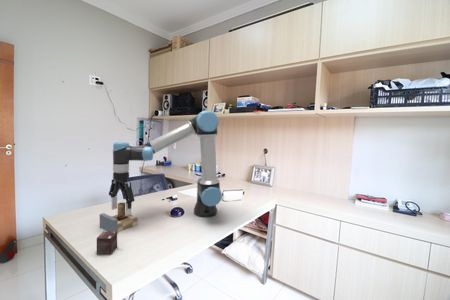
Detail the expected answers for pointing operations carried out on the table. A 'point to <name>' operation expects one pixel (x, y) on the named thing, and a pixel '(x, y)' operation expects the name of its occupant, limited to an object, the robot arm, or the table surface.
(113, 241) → the box
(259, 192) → the table surface
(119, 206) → the dowel
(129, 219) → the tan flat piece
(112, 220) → the board wall
